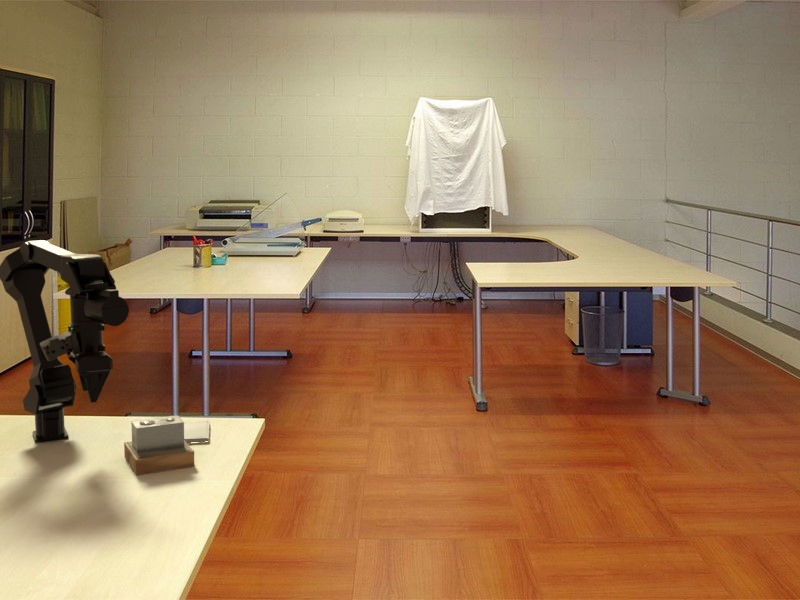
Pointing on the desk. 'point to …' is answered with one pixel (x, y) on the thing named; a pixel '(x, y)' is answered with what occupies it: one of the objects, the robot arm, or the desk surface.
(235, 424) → the desk surface
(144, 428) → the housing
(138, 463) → the stand
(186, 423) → the hard drive
